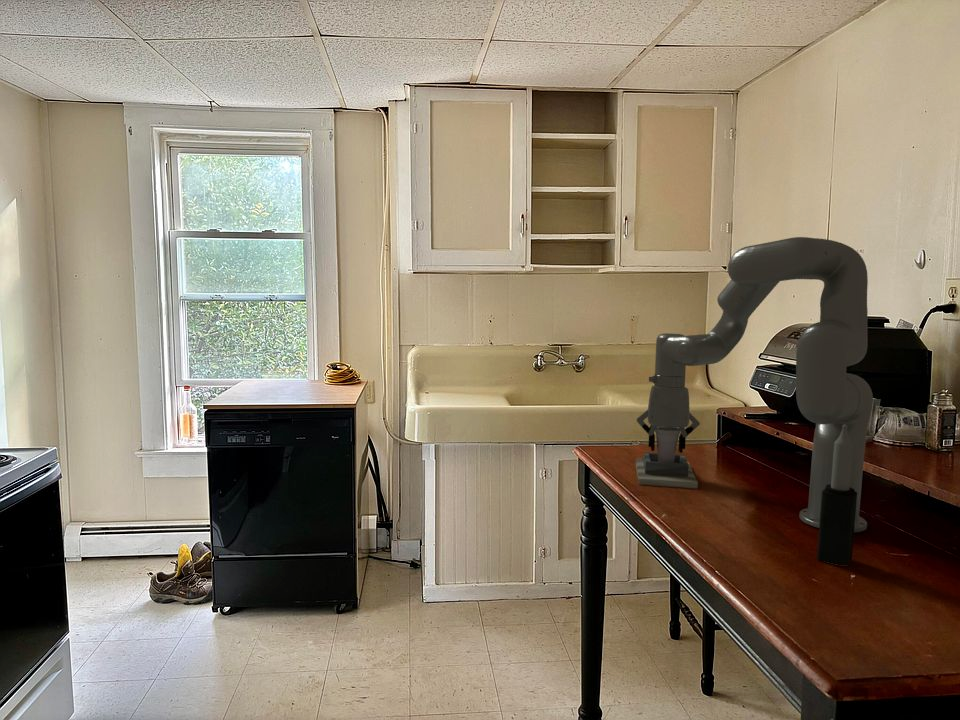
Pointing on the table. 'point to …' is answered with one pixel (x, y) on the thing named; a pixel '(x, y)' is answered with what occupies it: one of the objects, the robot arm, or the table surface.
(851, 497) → the dark tall narrow piece
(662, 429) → the smoothie
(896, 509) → the table surface
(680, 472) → the holder
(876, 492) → the table surface
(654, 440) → the robot arm
